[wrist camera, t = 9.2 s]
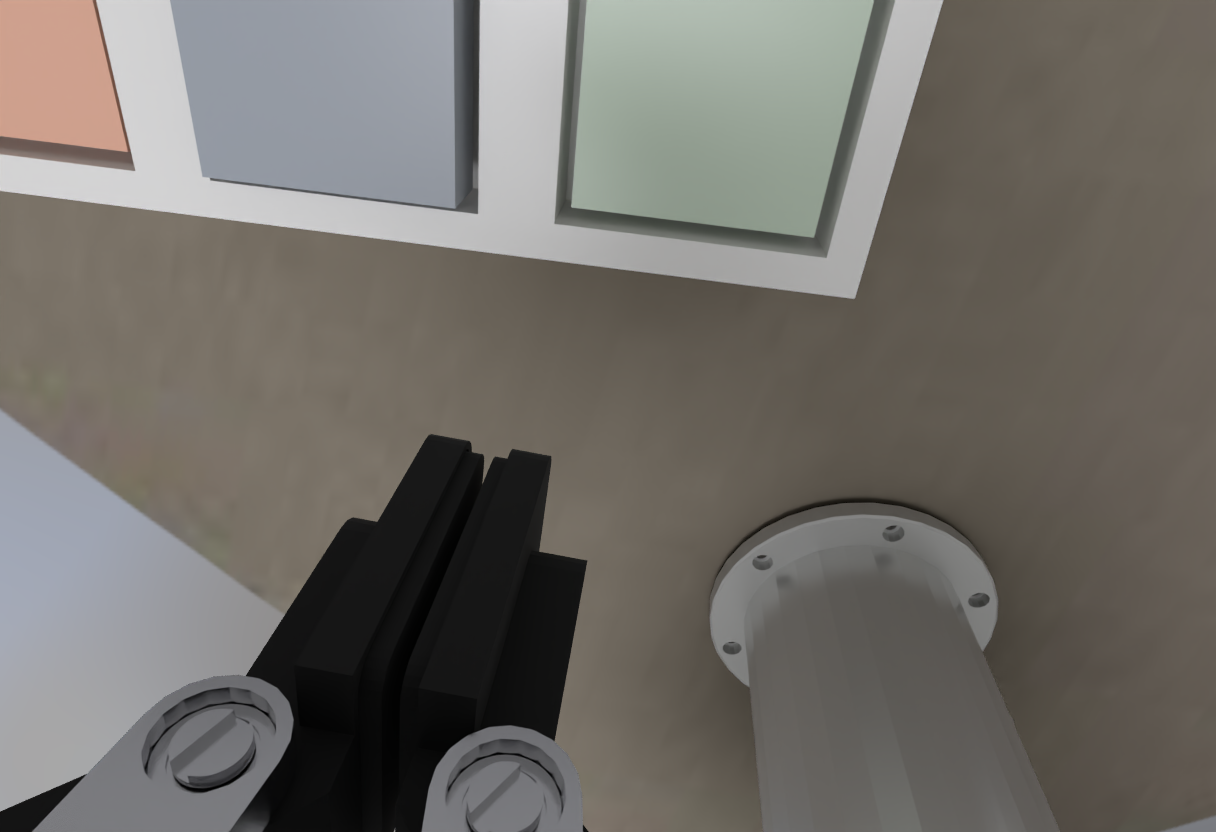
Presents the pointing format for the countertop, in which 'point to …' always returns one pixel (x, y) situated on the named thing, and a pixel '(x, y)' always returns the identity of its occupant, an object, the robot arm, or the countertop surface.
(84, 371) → the countertop surface
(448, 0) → the slate key
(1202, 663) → the countertop surface
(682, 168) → the sage key
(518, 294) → the countertop surface
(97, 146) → the terracotta key
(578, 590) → the robot arm
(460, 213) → the keypad
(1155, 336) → the countertop surface
